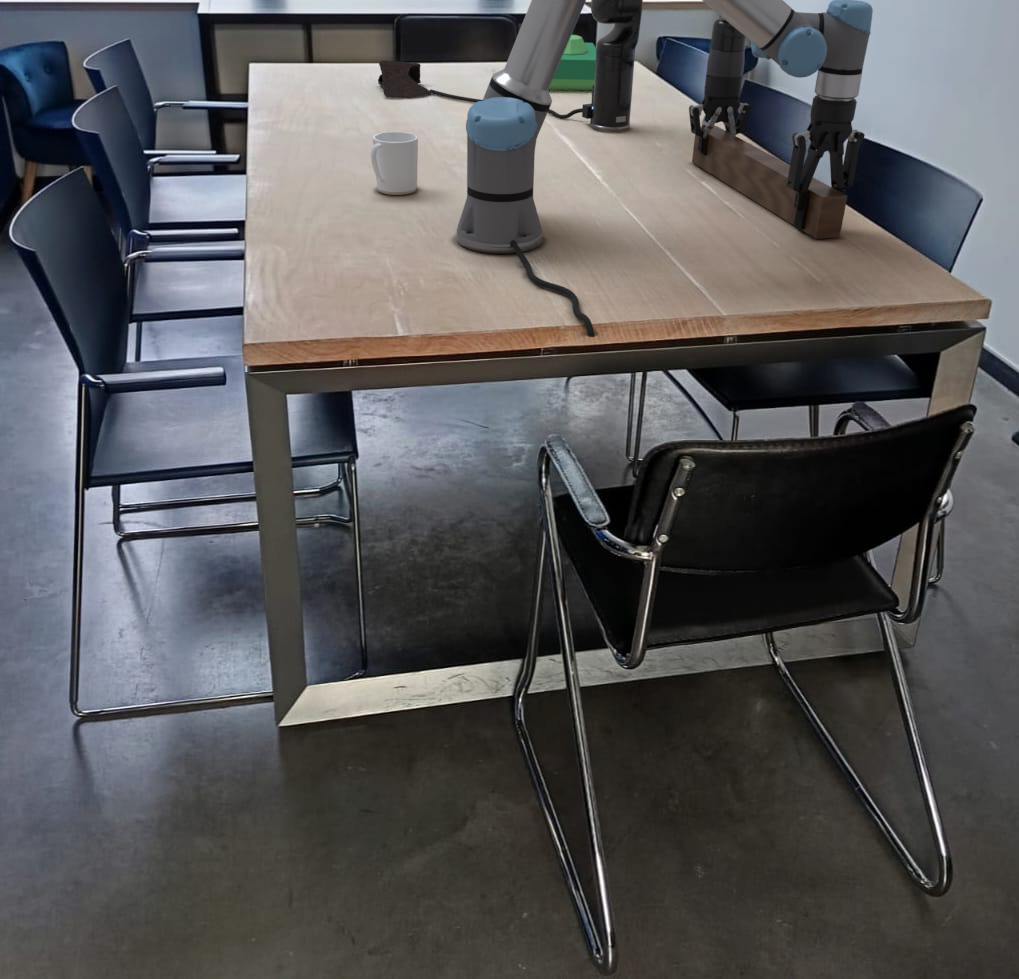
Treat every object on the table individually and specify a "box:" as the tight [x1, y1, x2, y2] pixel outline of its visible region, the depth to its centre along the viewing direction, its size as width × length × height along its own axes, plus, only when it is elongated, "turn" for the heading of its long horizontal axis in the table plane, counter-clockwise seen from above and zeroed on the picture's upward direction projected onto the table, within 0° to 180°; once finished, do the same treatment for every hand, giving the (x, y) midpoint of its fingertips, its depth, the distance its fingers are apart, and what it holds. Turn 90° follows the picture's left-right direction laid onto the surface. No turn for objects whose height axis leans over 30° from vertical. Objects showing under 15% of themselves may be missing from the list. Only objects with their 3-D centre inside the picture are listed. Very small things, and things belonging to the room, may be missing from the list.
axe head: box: [377, 59, 433, 99], centre depth 299 cm, size 18×8×15 cm
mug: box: [370, 131, 419, 196], centre depth 218 cm, size 11×9×10 cm
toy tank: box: [549, 34, 596, 91], centre depth 315 cm, size 18×12×35 cm
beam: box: [691, 125, 848, 240], centre depth 220 cm, size 53×5×8 cm, turn 17°
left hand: (812, 225), depth 204 cm, fingers closed on beam, 5 cm apart
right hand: (714, 153), depth 237 cm, fingers closed on beam, 5 cm apart
